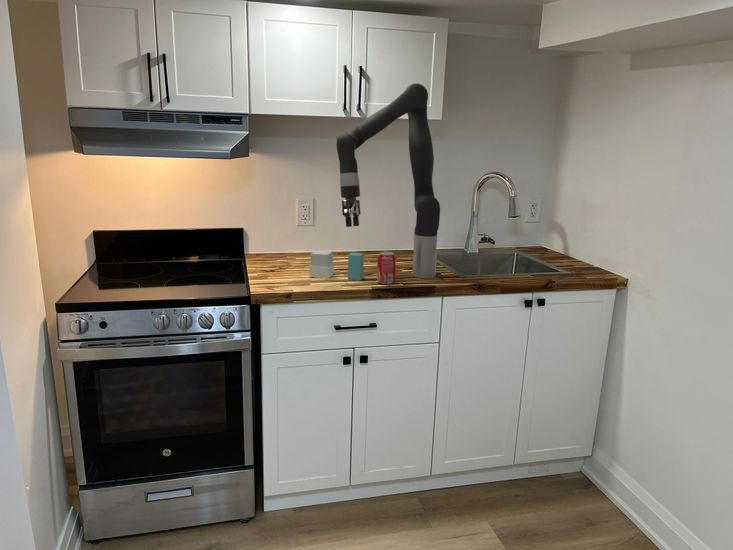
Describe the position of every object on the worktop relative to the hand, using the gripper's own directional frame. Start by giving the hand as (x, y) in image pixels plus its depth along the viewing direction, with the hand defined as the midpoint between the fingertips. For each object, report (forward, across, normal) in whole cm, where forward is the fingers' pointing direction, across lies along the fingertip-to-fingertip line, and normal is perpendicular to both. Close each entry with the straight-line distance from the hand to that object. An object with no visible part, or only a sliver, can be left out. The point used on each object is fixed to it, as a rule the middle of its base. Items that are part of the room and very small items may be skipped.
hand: (352, 226), depth 217 cm
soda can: (+23, -2, -13) cm, 26 cm away
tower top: (+14, -2, +14) cm, 20 cm away
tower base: (+19, -1, +14) cm, 24 cm away
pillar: (+21, 0, 0) cm, 21 cm away
